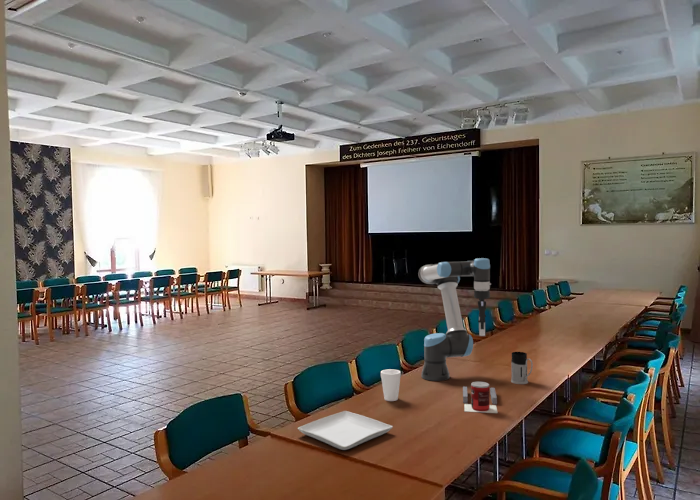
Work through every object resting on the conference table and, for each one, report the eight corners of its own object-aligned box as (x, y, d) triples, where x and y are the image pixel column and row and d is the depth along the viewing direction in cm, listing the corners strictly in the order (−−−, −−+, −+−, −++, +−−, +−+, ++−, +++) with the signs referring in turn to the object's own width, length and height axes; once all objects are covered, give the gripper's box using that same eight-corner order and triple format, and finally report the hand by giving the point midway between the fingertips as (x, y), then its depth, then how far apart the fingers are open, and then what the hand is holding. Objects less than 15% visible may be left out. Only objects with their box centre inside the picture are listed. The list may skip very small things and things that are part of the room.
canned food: (476, 404, 238) (475, 380, 238) (492, 407, 233) (492, 383, 232) (468, 409, 232) (467, 384, 232) (485, 412, 227) (484, 387, 227)
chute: (463, 411, 229) (463, 404, 229) (462, 392, 257) (462, 386, 257) (498, 413, 226) (498, 406, 226) (494, 393, 254) (494, 387, 254)
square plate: (296, 436, 205) (296, 426, 205) (345, 418, 225) (345, 409, 225) (344, 456, 186) (344, 445, 186) (394, 434, 206) (394, 424, 205)
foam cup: (384, 402, 243) (384, 375, 243) (378, 397, 252) (378, 370, 252) (404, 400, 246) (403, 373, 245) (397, 395, 255) (396, 368, 254)
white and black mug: (520, 378, 279) (520, 350, 279) (539, 385, 266) (539, 356, 266) (507, 380, 276) (506, 352, 276) (525, 387, 263) (525, 358, 262)
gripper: (490, 293, 244) (490, 338, 245) (489, 286, 268) (489, 328, 269) (474, 293, 245) (474, 338, 246) (474, 286, 270) (474, 327, 271)
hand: (482, 332), depth 258 cm, fingers open, 13 cm apart
